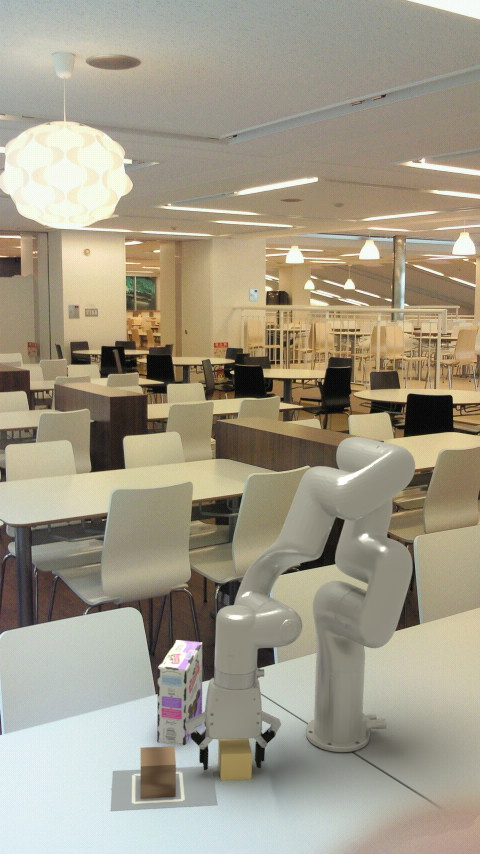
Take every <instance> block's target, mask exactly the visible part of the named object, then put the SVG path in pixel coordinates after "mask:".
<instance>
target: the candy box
mask: <svg viewBox="0 0 480 854" xmlns="http://www.w3.org/2000/svg"><path fill="white" fill-rule="evenodd" d="M201 713H203V642H202V641H201V642H199V641H191V640H181V639H179V640H178V639H176V640H175V642H174V644H173V645H172V647H171V648H170V649H169V651H168V652H167V654H166V655H165V657H164V658H163V660H162V661H161V663H160V664H159V665H158V666H157V726H156V727H157V730H156V732H157V737H156V738H157V739H156V740H157V743H163V744H170V745H178V746H185V745H186V744H187V743H188V741H189V739H190V738H191V737H190V735H189V733H188V731H187V729H186V727H185V722H186V721H187V720H189V719H191V718H193V717H195V716H197V715H199V714H201ZM196 728H197V727H195V729H196Z"/></svg>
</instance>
